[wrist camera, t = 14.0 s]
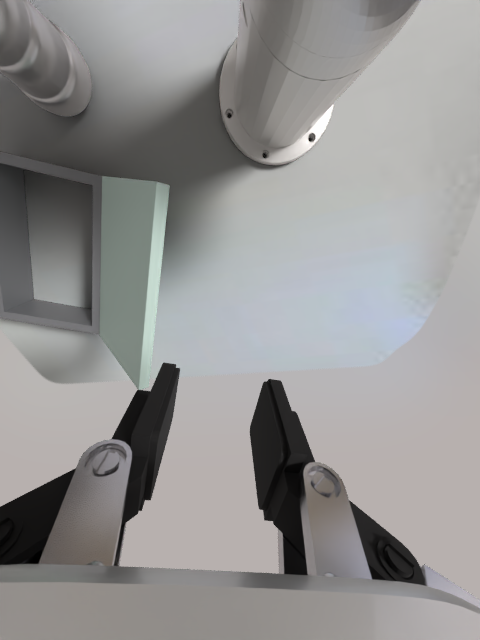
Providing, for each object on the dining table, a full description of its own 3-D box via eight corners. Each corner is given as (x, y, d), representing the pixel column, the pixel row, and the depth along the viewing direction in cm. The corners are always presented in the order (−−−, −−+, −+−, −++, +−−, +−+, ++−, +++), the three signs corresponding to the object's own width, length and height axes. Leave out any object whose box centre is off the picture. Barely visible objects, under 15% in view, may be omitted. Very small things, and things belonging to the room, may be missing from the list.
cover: (156, 181, 17) (169, 185, 18) (102, 176, 25) (112, 179, 26) (138, 390, 24) (148, 387, 24) (99, 335, 31) (108, 334, 32)
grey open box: (12, 156, 28) (-30, 144, 23) (122, 183, 30) (103, 176, 25) (26, 304, 34) (-5, 317, 30) (116, 320, 36) (100, 334, 31)
